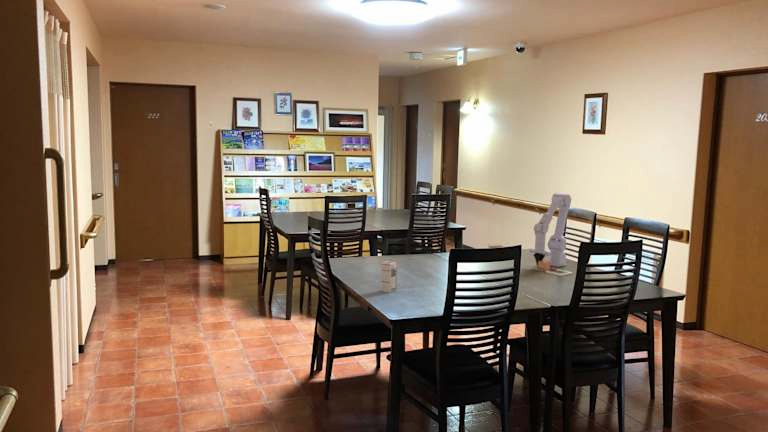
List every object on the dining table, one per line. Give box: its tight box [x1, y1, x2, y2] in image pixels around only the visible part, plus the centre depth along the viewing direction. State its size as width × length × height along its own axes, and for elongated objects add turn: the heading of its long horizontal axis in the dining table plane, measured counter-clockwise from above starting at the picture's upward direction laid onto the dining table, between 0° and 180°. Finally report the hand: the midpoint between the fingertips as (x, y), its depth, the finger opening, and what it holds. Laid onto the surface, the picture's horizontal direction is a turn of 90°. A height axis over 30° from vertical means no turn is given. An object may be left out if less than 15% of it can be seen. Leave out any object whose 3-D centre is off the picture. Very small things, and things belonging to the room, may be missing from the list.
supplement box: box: [487, 243, 504, 249], centre depth 376 cm, size 8×5×13 cm, turn 84°
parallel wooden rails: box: [532, 265, 558, 273], centre depth 370 cm, size 8×11×2 cm
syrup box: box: [380, 260, 398, 293], centre depth 308 cm, size 6×6×14 cm
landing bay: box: [545, 268, 574, 277], centre depth 362 cm, size 11×10×1 cm
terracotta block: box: [537, 259, 551, 271], centre depth 370 cm, size 5×5×5 cm
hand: (538, 265), depth 374 cm, fingers closed
